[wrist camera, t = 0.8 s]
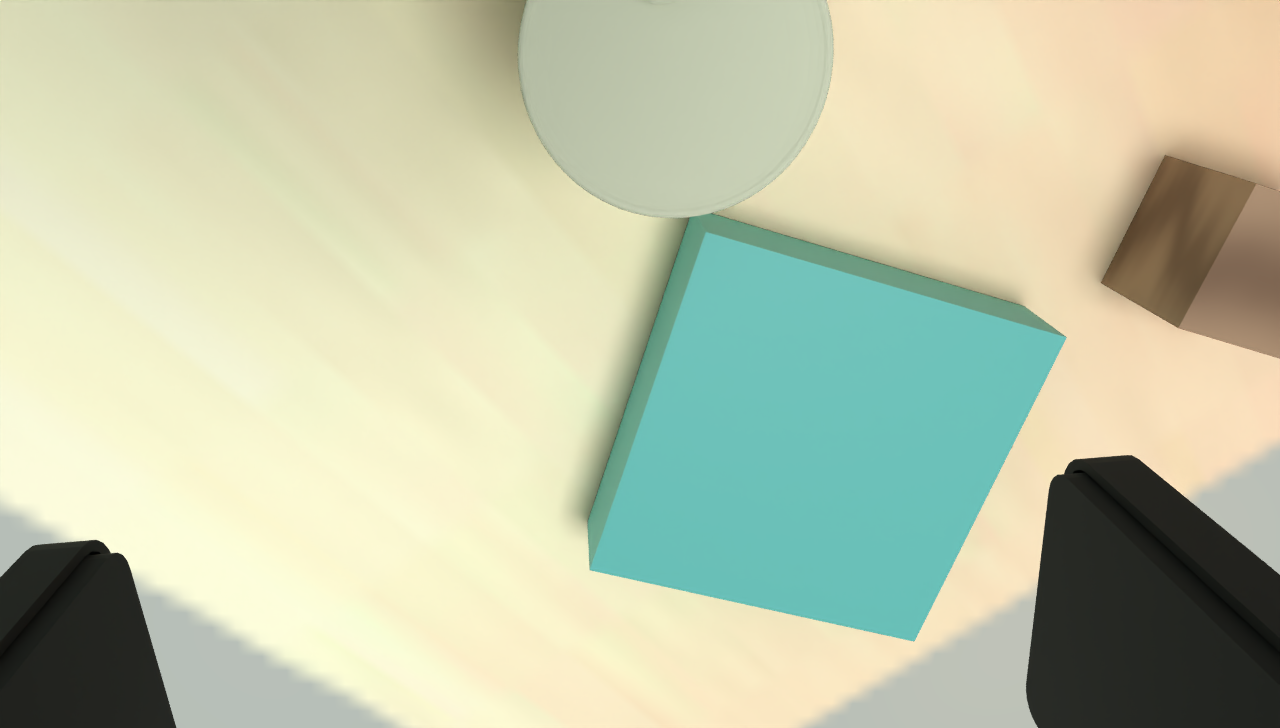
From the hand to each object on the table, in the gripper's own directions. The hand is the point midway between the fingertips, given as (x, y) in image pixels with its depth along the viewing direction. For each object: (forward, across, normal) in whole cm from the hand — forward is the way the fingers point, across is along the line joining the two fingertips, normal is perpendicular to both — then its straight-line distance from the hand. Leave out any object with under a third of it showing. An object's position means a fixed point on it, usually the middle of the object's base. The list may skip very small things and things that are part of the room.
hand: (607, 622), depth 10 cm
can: (+32, -3, -4) cm, 33 cm away
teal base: (+32, -10, +13) cm, 36 cm away
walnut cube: (+32, -27, +6) cm, 42 cm away
